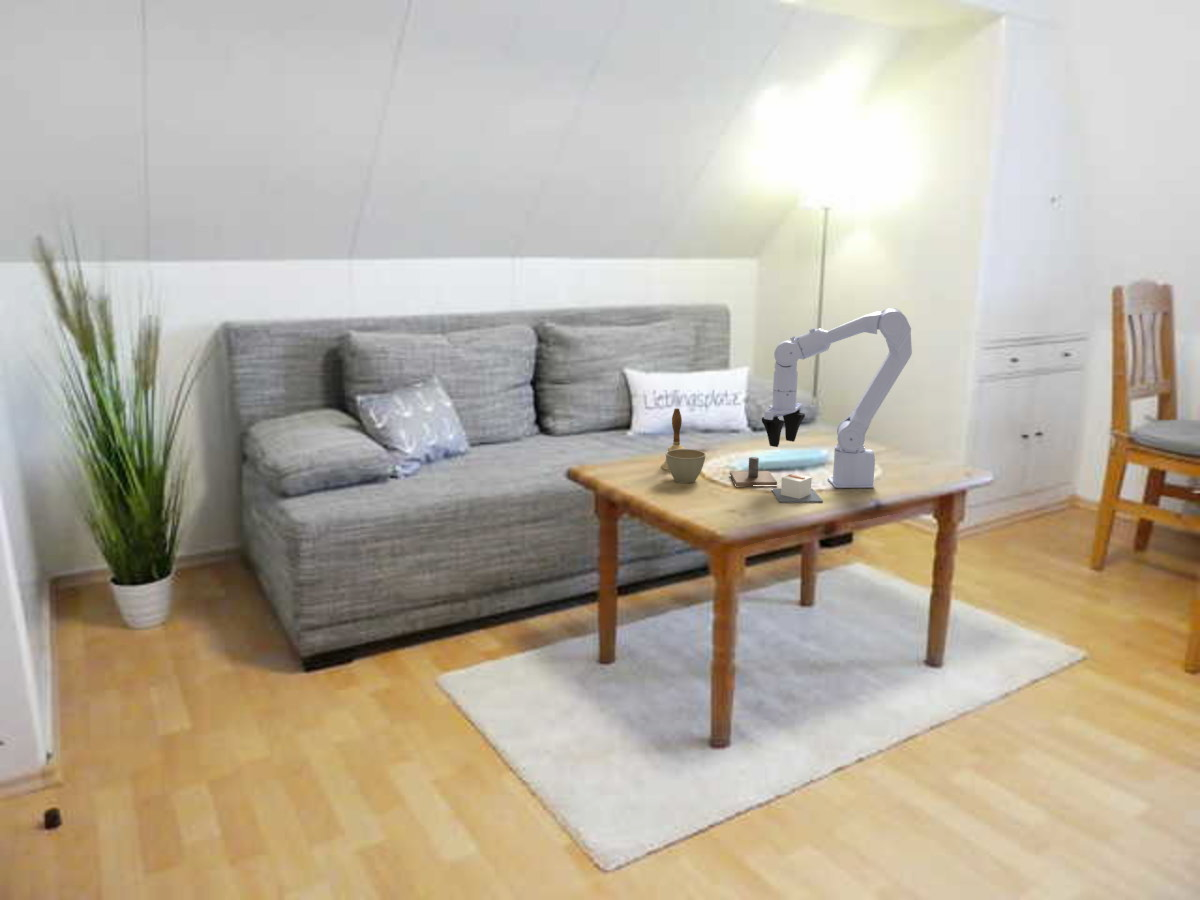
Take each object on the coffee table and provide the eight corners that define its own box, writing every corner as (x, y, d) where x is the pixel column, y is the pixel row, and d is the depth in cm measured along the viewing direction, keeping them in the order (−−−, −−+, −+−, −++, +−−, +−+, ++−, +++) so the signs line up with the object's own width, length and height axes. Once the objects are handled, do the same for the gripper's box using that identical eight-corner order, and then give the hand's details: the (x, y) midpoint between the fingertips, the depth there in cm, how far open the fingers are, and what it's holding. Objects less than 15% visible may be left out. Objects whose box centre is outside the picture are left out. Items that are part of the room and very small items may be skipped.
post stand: (768, 475, 221) (769, 453, 219) (776, 486, 211) (777, 463, 210) (730, 475, 221) (730, 453, 219) (736, 487, 211) (737, 463, 210)
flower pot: (703, 487, 211) (703, 459, 209) (662, 485, 213) (663, 457, 211) (706, 476, 221) (707, 449, 219) (667, 474, 223) (668, 447, 221)
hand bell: (654, 467, 229) (655, 409, 225) (672, 461, 235) (673, 404, 231) (680, 473, 224) (681, 413, 220) (698, 466, 230) (699, 408, 226)
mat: (812, 490, 208) (812, 488, 208) (822, 502, 198) (822, 500, 198) (771, 490, 208) (771, 488, 208) (779, 502, 198) (779, 501, 198)
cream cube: (810, 494, 203) (811, 476, 202) (799, 498, 200) (800, 480, 199) (792, 490, 207) (793, 472, 206) (780, 494, 203) (781, 476, 202)
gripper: (786, 384, 219) (783, 436, 223) (754, 391, 209) (752, 445, 212) (811, 387, 214) (808, 440, 218) (779, 395, 204) (776, 450, 208)
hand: (782, 443), depth 215 cm, fingers open, 7 cm apart
